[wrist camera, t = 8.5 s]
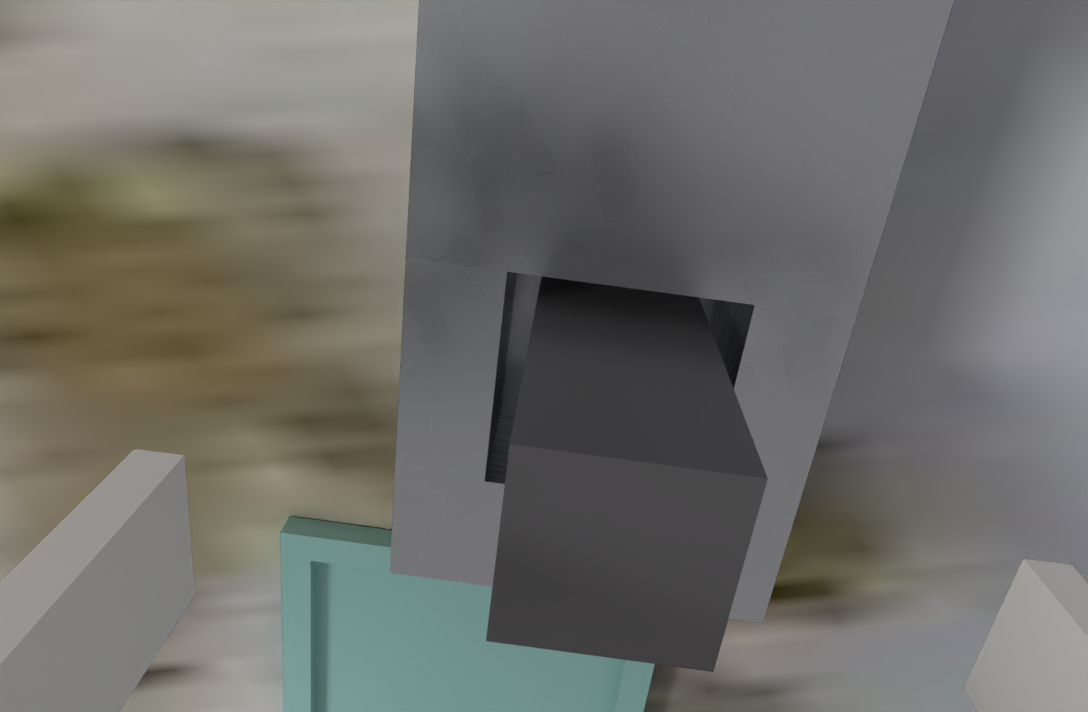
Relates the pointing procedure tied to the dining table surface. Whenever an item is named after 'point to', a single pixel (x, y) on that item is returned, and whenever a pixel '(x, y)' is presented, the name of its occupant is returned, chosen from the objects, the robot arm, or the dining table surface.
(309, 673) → the tray
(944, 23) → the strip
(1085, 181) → the dining table surface
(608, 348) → the plug
